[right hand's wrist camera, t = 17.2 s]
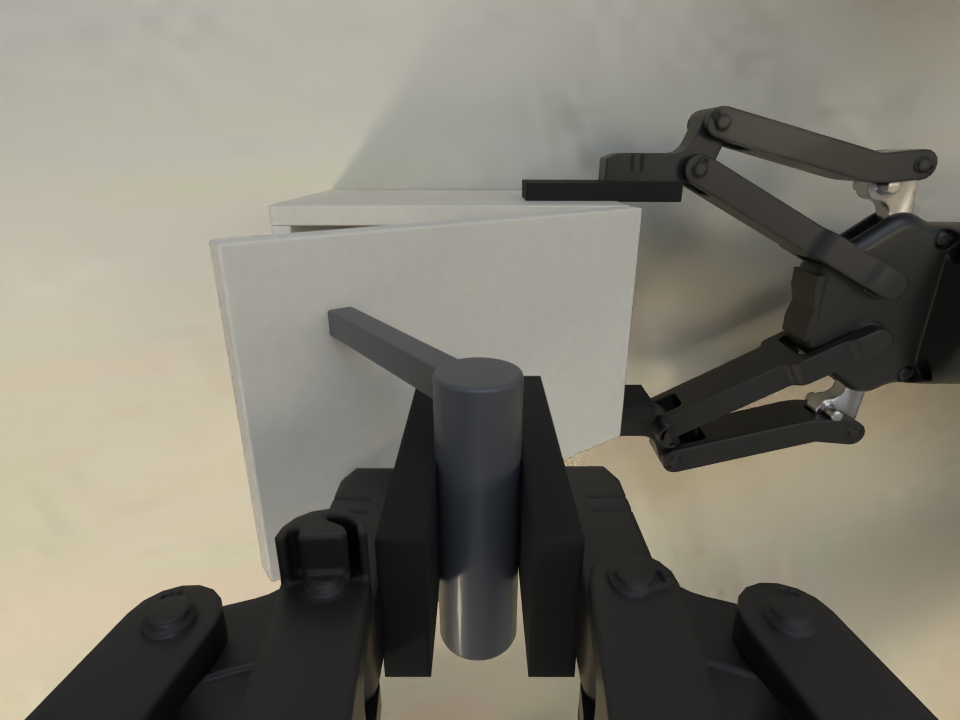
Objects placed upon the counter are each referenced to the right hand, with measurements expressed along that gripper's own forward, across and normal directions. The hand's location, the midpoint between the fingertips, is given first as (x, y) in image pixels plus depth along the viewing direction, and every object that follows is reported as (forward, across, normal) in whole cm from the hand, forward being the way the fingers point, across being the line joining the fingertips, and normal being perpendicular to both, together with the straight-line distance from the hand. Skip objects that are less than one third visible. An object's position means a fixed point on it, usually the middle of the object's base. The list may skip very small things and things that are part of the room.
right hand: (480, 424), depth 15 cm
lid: (+5, 0, 0) cm, 5 cm away
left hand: (+13, -2, 0) cm, 13 cm away
